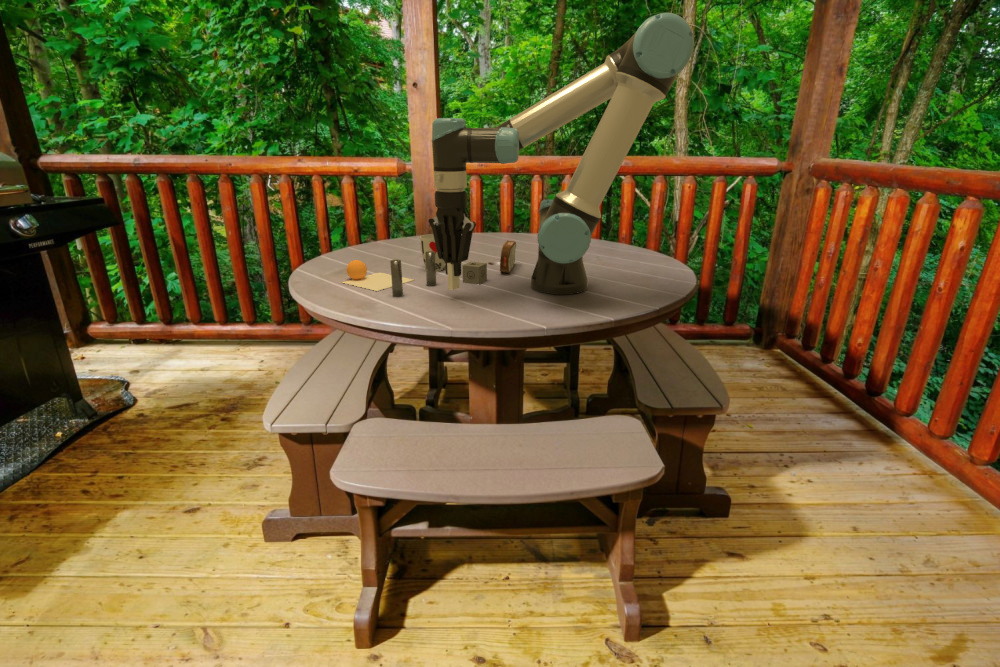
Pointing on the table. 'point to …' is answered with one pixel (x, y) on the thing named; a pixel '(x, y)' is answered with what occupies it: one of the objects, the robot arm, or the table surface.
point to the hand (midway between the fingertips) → (453, 288)
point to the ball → (356, 270)
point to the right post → (430, 268)
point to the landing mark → (375, 281)
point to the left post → (396, 278)
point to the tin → (507, 256)
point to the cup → (429, 245)
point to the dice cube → (474, 272)
